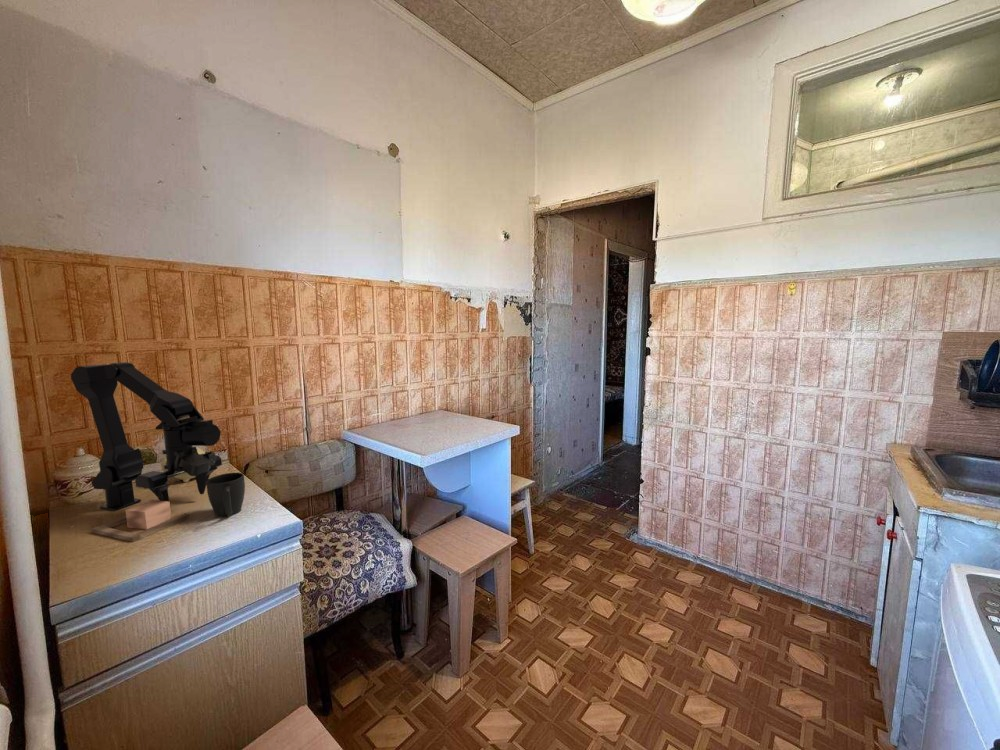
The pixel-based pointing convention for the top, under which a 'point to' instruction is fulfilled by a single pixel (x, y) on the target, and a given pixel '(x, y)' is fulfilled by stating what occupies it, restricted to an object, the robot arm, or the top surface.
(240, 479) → the mug
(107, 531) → the walnut bay
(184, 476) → the toy pig
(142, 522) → the terracotta block
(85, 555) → the top surface
